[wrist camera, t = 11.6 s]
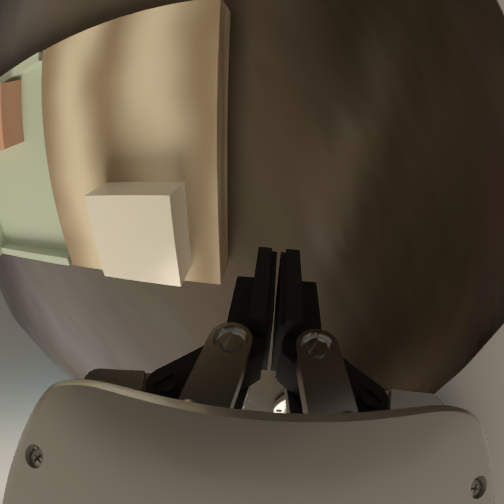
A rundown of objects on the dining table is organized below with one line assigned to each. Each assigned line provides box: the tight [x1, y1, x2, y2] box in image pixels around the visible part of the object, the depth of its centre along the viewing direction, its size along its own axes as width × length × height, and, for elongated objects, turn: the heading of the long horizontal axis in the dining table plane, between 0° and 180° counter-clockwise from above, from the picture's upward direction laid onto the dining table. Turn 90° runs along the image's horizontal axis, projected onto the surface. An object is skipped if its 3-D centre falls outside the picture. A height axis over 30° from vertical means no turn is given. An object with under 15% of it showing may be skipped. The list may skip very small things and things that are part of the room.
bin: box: [0, 52, 72, 266], centre depth 17 cm, size 14×19×5 cm
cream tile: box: [84, 181, 192, 287], centre depth 16 cm, size 6×6×2 cm
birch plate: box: [41, 0, 231, 284], centre depth 16 cm, size 14×19×3 cm
